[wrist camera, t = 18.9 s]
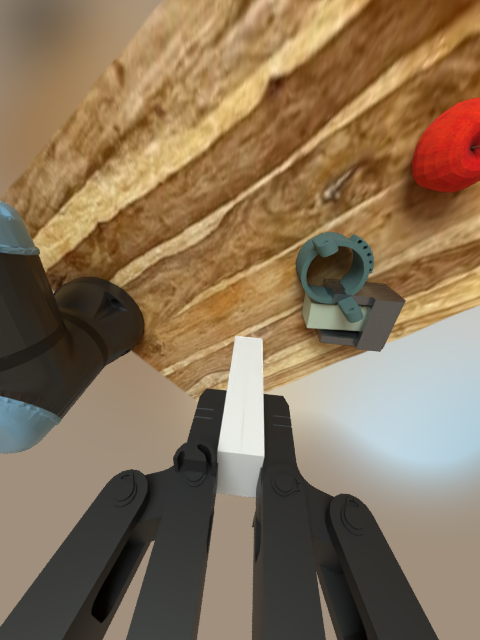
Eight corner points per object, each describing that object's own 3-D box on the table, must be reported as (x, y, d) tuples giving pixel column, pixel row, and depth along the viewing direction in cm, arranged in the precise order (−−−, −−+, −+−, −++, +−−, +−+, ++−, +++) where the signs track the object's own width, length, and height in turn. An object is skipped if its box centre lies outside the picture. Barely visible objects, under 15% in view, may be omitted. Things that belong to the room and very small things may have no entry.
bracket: (337, 297, 37) (358, 327, 29) (283, 276, 36) (290, 302, 28) (373, 241, 32) (409, 260, 25) (312, 215, 31) (331, 227, 24)
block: (301, 312, 39) (306, 327, 35) (305, 289, 37) (311, 303, 33) (362, 315, 39) (375, 331, 35) (370, 293, 37) (384, 307, 33)
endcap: (312, 322, 40) (321, 345, 34) (324, 278, 36) (336, 296, 30) (367, 327, 40) (385, 352, 34) (385, 284, 36) (409, 303, 30)
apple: (393, 199, 30) (429, 203, 24) (400, 121, 26) (444, 101, 20) (464, 183, 29) (522, 183, 22) (481, 99, 25) (557, 70, 19)
